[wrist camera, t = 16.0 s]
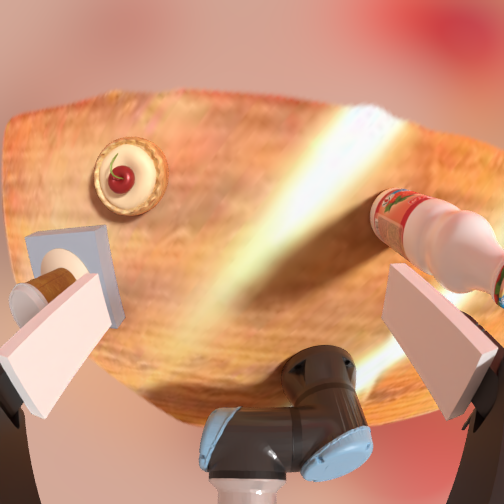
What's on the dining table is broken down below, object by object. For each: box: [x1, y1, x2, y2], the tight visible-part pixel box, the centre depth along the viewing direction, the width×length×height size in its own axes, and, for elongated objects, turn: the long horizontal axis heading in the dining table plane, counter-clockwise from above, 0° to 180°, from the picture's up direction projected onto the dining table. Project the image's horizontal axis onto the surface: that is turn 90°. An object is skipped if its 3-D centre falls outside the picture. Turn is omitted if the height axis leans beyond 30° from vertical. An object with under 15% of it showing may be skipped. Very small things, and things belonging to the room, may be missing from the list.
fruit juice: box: [370, 188, 504, 308], centre depth 29 cm, size 9×9×28 cm
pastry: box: [93, 137, 169, 216], centre depth 37 cm, size 12×12×9 cm
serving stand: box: [25, 225, 125, 329], centre depth 44 cm, size 18×18×4 cm
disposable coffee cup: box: [9, 268, 76, 329], centre depth 36 cm, size 10×10×12 cm
